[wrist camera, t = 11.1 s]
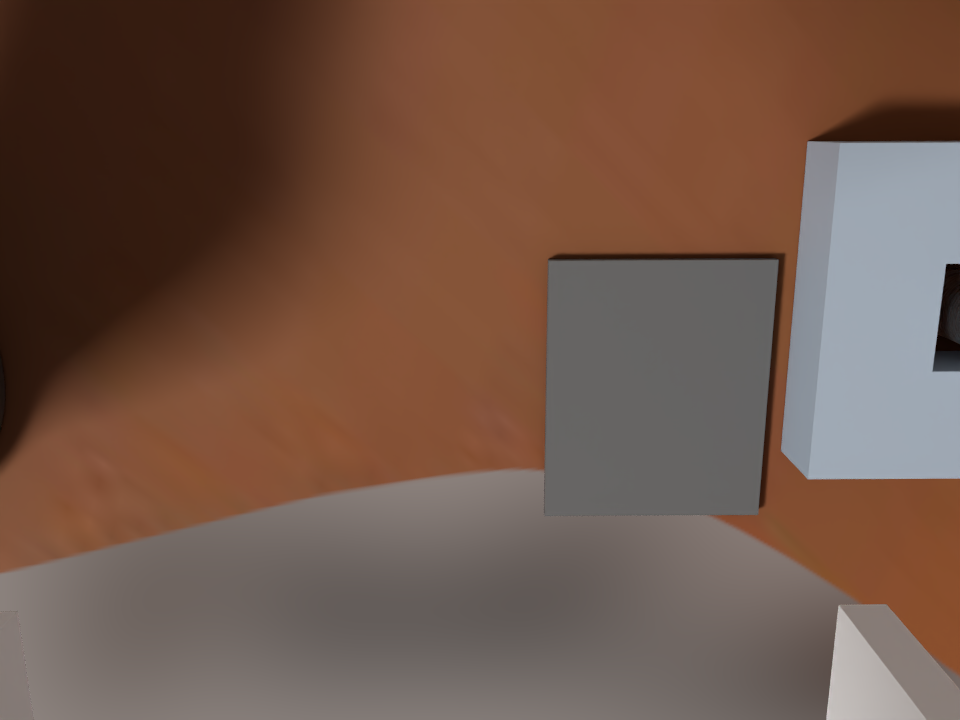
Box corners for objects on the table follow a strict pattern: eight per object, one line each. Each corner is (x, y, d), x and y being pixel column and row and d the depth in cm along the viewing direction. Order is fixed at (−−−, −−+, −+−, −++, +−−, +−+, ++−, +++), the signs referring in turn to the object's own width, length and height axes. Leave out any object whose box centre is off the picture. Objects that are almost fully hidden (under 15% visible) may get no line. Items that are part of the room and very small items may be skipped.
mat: (543, 511, 43) (544, 515, 42) (548, 259, 40) (549, 260, 39) (754, 510, 43) (757, 514, 42) (775, 258, 40) (778, 259, 39)
